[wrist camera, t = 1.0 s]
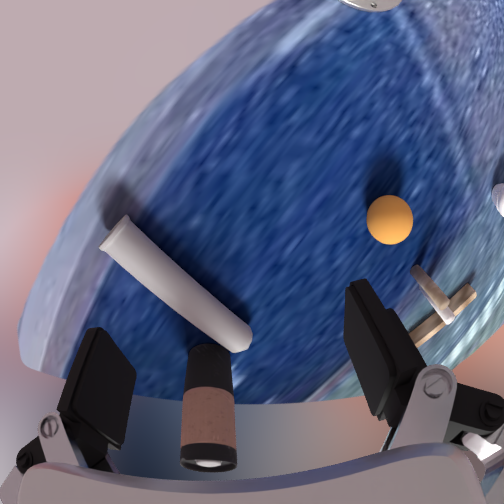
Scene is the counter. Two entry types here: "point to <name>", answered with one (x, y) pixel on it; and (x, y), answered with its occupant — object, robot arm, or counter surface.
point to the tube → (174, 285)
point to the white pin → (444, 314)
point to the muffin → (498, 197)
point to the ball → (389, 219)
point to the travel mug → (208, 411)
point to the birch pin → (430, 287)
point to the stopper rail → (436, 321)
